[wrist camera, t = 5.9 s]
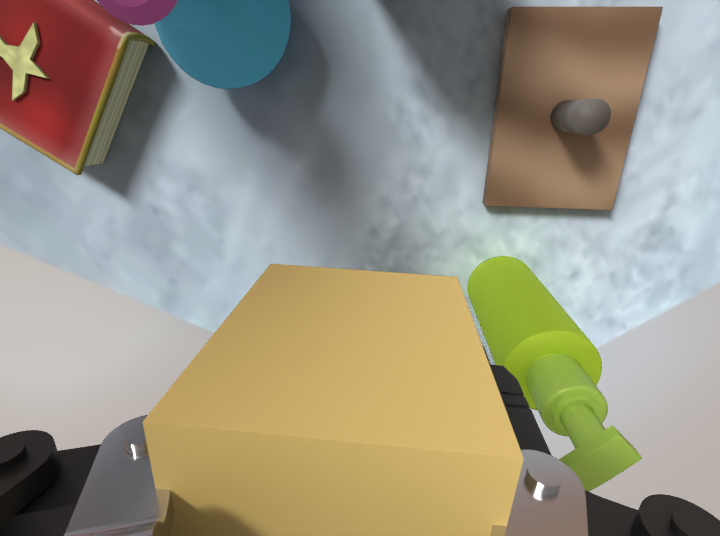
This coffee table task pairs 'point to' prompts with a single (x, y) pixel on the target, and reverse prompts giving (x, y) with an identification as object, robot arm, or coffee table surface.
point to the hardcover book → (66, 76)
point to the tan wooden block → (338, 414)
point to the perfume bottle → (215, 35)
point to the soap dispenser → (549, 365)
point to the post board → (566, 74)
